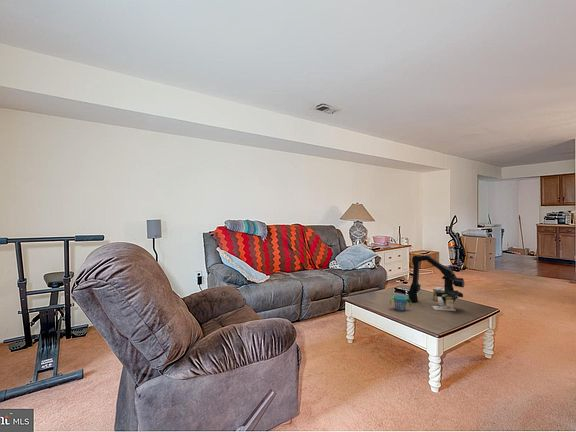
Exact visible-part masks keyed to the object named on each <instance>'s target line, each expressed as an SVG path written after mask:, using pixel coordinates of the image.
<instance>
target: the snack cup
mask: <svg viewBox="0 0 576 432" xmlns="http://www.w3.org/2000/svg"><path fill="white" fill-rule="evenodd" d="M408 299H409V298H408V296H406V295H403V294H395V295H393V296H392V297H391V298H390V299H389V304H390V305H392V300H393V302H394V309H395V310H396V311H399V312H402V311H404V312H405V311H406V309H407V303H408ZM409 300H410V299H409ZM409 307H412V302H411V300H410V302H409Z"/></svg>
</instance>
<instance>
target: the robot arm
mask: <svg viewBox="0 0 576 432" xmlns="http://www.w3.org/2000/svg"><path fill="white" fill-rule="evenodd" d="M411 261H412V265H413V269H412V281H411V284H410V287H409V289H408V291H406V293H407V297H408V298H409V299H410V300H411V303H418V292H420V290H421V284H420V283H419V276H420V265H421V264H422V262H423V261H424V262H425V261H427V262H428V263H429V264H431V265H432V266H433V267H434V268H436V269H438V270H439V271H440V273H441V274H442V275H443V276H442V277H441V279H442V280H444V283H443V284H444V285H443V288H444V292H441V291H435V295H436V296H440V297H441V298H442V300H443V304H446V302H445V298H446V297H445V295H448V296H449V297H450V298H452V299H453V305H454V304H455V301H456V300H457V299H459V298H464V293H462V292H461V291H459V290H454V287H457V288H458V287H459V288H464V287H465V279H464V278H463V277H457V276H456V273H455V272H454V270H453V269H452V268H450V267H448V266H445V265H443V264H442V263H440V261H437V260H436V259H435V258H434V257H432V256H431V255H428V254H426V255H419V254H416V255H413V256H412V259H411ZM409 299H408V300H407V302H408V303H410V300H409Z"/></svg>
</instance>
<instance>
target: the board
mask: <svg viewBox="0 0 576 432" xmlns="http://www.w3.org/2000/svg"><path fill="white" fill-rule="evenodd" d="M431 308H432V309H433V310H434V311H450V312H456V310H457V309H455V308H454V306H453V307H446V306H444V305H443V306H439V305H431Z"/></svg>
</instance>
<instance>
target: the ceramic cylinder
mask: <svg viewBox="0 0 576 432" xmlns="http://www.w3.org/2000/svg"><path fill="white" fill-rule="evenodd" d="M437 306H443V307H444V306H445V305H444V302H443V300H442V298H441V297H438V301H437Z"/></svg>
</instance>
